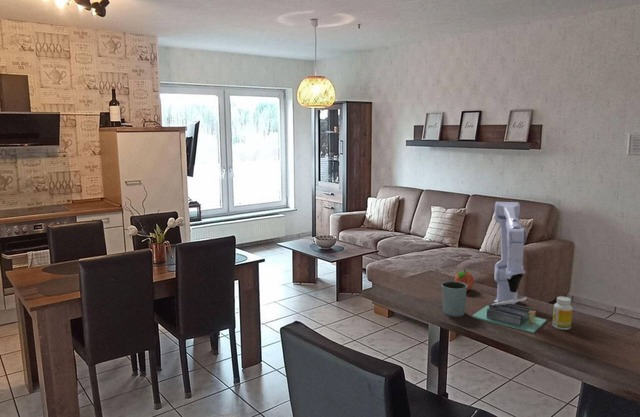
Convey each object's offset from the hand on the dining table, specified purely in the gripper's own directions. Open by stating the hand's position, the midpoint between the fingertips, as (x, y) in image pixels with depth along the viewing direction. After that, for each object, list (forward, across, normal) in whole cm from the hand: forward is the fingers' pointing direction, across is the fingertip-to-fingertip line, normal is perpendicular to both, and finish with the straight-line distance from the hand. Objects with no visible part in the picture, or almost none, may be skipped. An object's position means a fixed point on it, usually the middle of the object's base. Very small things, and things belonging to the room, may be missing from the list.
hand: (513, 291), depth 193 cm
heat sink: (+10, -4, -1) cm, 10 cm away
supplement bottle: (+11, +2, -18) cm, 21 cm away
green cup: (+11, -11, +20) cm, 25 cm away
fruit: (+11, +18, +29) cm, 36 cm away
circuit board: (+10, -4, 0) cm, 11 cm away
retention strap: (+4, -4, 0) cm, 5 cm away
